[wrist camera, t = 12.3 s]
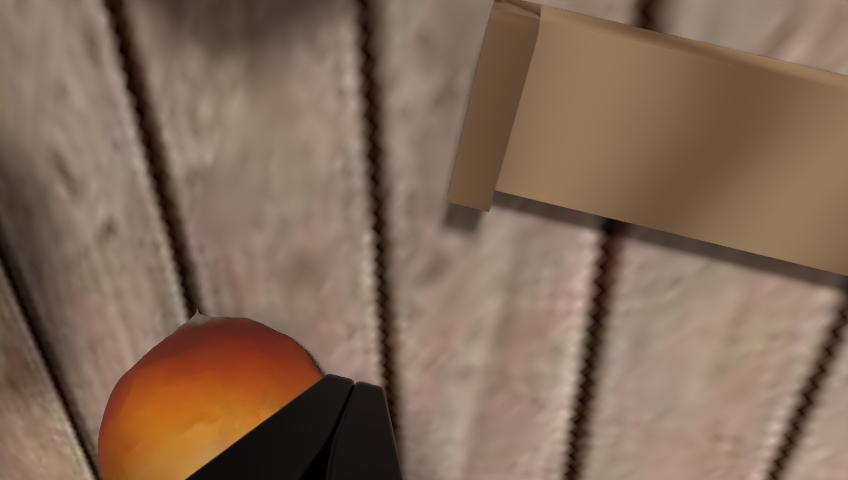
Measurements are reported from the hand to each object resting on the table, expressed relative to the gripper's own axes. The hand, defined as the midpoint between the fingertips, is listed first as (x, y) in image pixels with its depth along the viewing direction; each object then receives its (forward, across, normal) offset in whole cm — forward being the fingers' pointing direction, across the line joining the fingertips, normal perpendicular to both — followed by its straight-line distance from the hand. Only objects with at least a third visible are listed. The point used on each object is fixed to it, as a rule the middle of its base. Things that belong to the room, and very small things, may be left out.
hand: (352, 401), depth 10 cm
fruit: (+12, -6, -14) cm, 19 cm away
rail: (+12, +12, 0) cm, 17 cm away
